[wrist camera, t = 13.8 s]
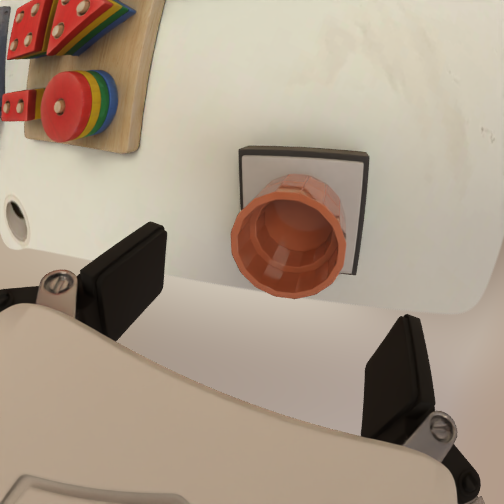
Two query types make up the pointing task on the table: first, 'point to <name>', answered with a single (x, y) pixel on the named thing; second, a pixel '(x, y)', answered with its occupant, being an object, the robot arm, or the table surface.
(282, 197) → the terracotta pot
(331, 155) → the scale
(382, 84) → the table surface
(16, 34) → the shape sorter
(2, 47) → the vhs cassette tape
